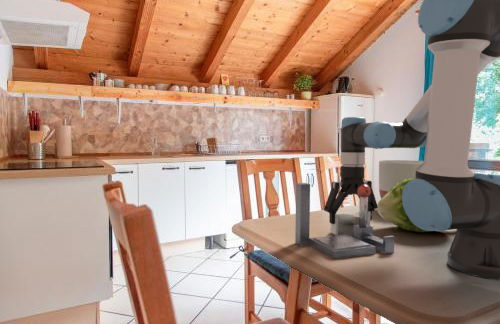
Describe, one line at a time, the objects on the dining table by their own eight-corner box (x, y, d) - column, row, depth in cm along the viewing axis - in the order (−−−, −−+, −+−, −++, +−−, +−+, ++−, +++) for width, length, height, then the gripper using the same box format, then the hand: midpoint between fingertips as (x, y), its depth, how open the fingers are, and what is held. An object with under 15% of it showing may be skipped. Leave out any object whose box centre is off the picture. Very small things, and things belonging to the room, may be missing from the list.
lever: (372, 233, 107) (374, 185, 106) (361, 234, 106) (362, 185, 105) (364, 230, 111) (365, 183, 110) (353, 231, 109) (354, 183, 108)
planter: (416, 218, 141) (418, 163, 139) (369, 210, 156) (370, 161, 154) (436, 211, 155) (438, 161, 153) (391, 204, 170) (392, 159, 168)
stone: (330, 237, 113) (333, 207, 117) (334, 243, 121) (337, 214, 124) (360, 240, 110) (362, 209, 113) (362, 246, 117) (364, 217, 121)
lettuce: (374, 223, 134) (370, 177, 131) (441, 217, 130) (438, 169, 126) (386, 246, 115) (381, 192, 112) (464, 240, 111) (462, 184, 108)
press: (394, 252, 98) (396, 187, 97) (326, 261, 91) (327, 191, 89) (355, 236, 114) (356, 180, 113) (295, 243, 107) (296, 183, 105)
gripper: (375, 163, 122) (373, 226, 124) (313, 165, 114) (312, 232, 116) (390, 165, 115) (388, 231, 117) (326, 167, 107) (325, 238, 109)
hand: (350, 232), depth 116 cm, fingers open, 12 cm apart
